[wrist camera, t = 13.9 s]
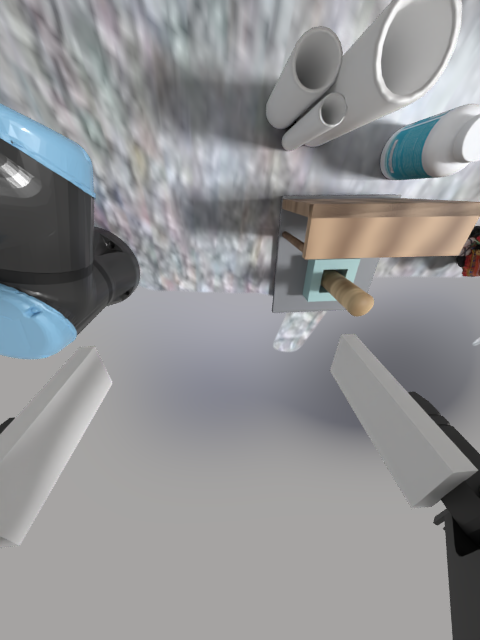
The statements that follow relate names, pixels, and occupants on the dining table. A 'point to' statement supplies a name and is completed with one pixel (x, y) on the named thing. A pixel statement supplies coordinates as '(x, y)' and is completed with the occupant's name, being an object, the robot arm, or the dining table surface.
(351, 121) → the vase
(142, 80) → the dining table surface
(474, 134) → the pill bottle
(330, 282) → the oak peg
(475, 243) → the figurine
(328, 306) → the socket board
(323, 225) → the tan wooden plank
